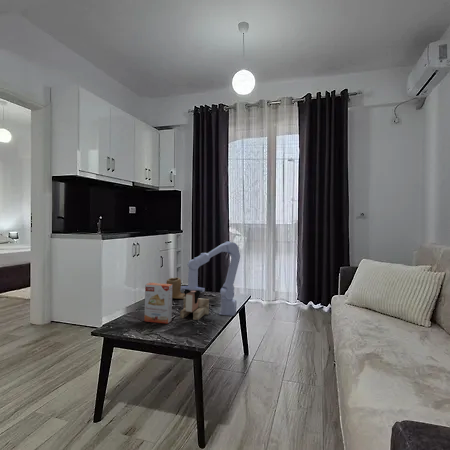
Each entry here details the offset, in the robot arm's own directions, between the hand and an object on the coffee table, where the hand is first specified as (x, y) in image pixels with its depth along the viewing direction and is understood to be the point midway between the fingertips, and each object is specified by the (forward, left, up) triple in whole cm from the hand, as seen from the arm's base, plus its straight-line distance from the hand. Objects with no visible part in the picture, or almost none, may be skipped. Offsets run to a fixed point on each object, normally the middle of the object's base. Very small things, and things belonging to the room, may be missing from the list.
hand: (192, 302), depth 189 cm
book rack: (0, 0, -8) cm, 8 cm away
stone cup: (+26, -36, -8) cm, 45 cm away
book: (0, 0, -4) cm, 4 cm away
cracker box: (+14, +16, -8) cm, 23 cm away
